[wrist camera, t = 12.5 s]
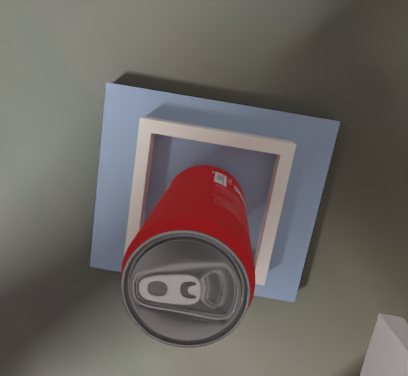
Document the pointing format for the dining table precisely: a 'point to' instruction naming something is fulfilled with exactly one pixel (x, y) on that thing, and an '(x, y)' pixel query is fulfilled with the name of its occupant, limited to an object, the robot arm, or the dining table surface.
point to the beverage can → (191, 261)
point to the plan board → (219, 157)
